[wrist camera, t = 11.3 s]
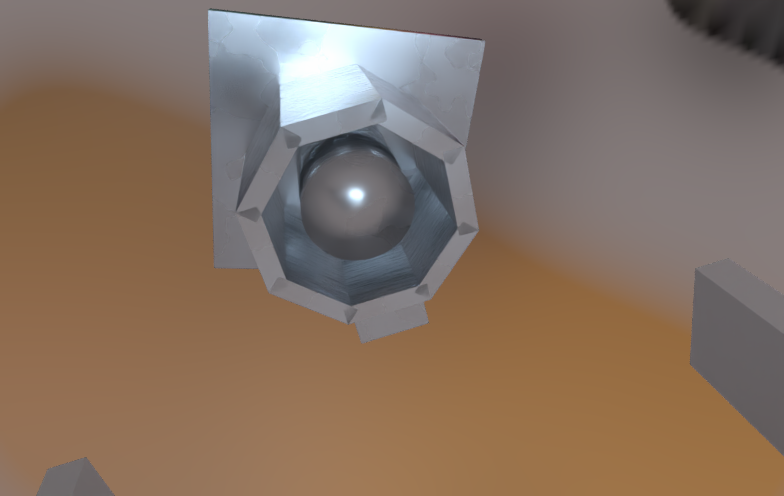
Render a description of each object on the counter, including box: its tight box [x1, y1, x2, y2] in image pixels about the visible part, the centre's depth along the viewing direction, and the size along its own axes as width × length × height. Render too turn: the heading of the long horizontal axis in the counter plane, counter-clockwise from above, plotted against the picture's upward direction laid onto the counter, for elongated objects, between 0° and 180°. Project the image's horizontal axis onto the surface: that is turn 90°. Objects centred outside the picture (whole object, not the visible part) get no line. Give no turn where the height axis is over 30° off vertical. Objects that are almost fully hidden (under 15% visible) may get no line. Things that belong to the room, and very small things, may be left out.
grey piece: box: [235, 63, 479, 343], centre depth 24 cm, size 11×8×7 cm
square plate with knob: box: [208, 9, 485, 269], centre depth 24 cm, size 12×12×7 cm
